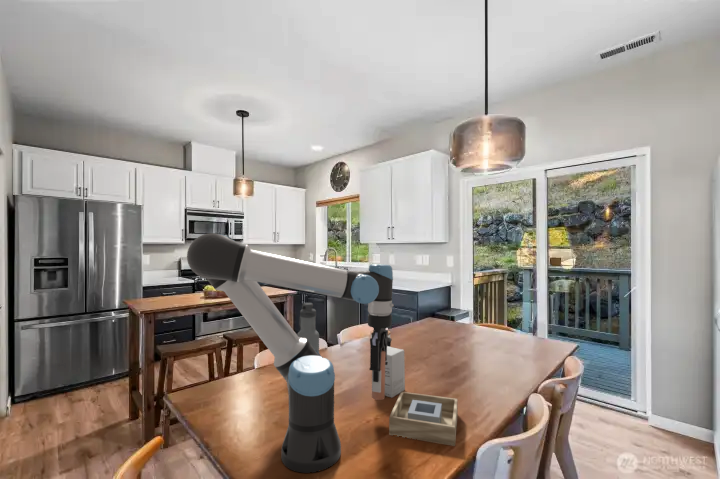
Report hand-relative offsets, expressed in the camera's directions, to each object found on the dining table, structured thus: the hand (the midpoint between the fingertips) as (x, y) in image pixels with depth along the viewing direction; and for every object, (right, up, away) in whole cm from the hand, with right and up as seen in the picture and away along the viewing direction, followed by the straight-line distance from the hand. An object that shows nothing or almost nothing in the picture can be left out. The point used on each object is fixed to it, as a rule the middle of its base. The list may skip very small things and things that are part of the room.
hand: (378, 388), depth 108 cm
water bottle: (-29, -10, +45) cm, 55 cm away
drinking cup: (+4, -10, +40) cm, 41 cm away
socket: (+14, -9, -4) cm, 17 cm away
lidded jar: (+5, -11, +76) cm, 77 cm away
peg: (0, -3, 0) cm, 3 cm away
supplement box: (+5, -10, +20) cm, 22 cm away
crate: (+14, -9, -4) cm, 17 cm away
